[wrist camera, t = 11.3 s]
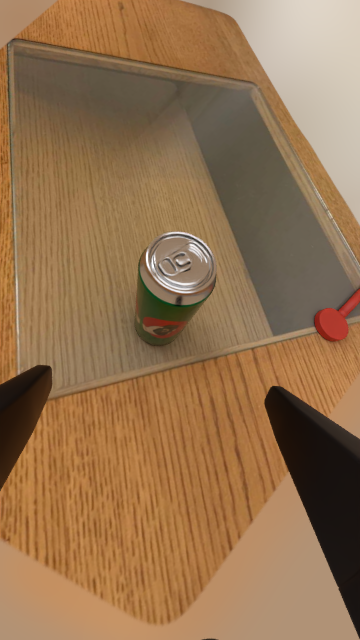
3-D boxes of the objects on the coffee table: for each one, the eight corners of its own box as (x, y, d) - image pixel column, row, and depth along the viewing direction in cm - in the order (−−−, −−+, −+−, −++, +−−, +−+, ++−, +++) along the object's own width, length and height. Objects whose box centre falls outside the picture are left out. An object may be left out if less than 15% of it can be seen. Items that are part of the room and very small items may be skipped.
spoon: (331, 347, 28) (340, 345, 27) (308, 321, 28) (315, 318, 27) (378, 294, 33) (386, 291, 32) (357, 273, 34) (365, 269, 33)
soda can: (188, 332, 24) (238, 276, 13) (150, 355, 22) (170, 314, 11) (164, 296, 25) (192, 216, 14) (125, 316, 23) (122, 242, 12)
